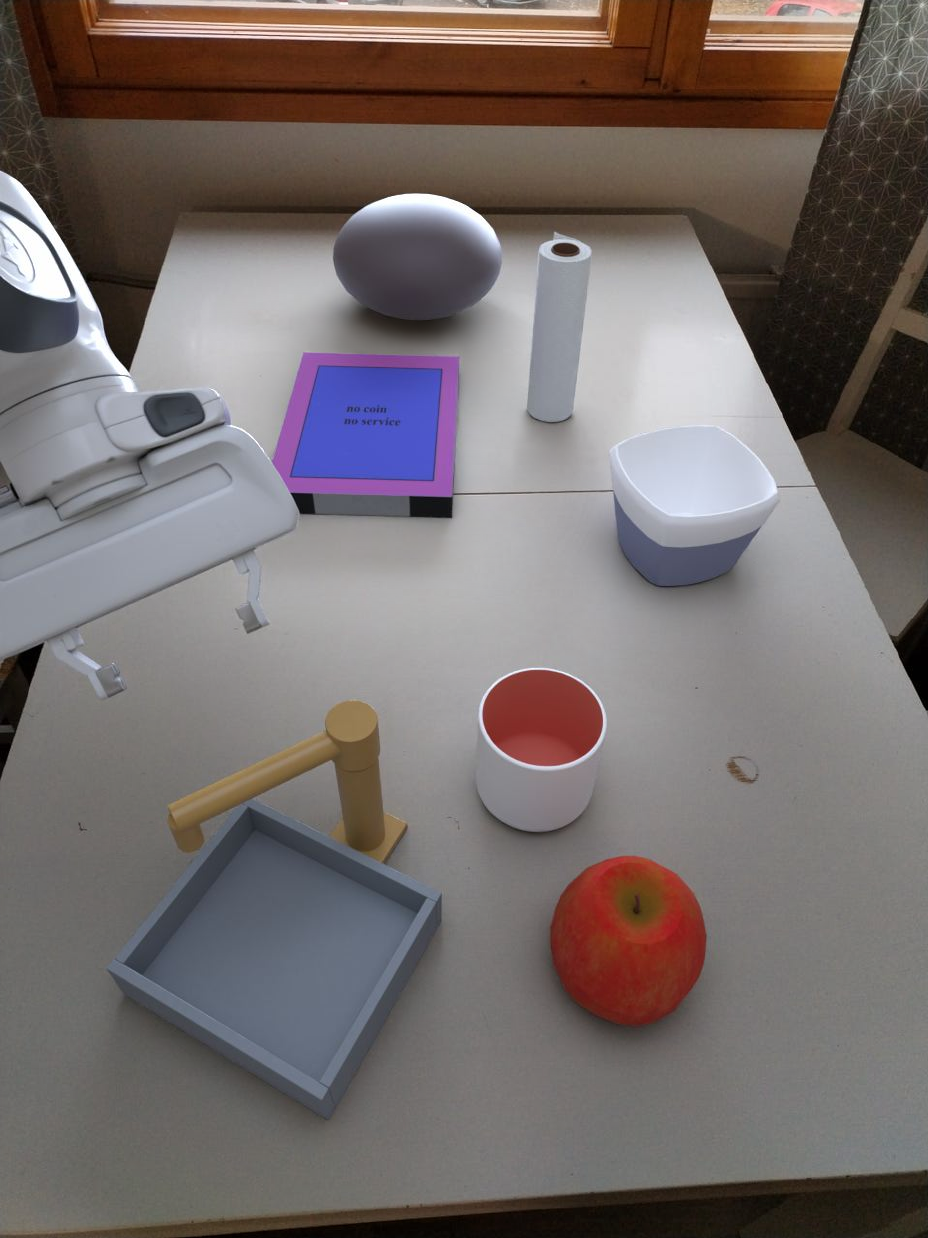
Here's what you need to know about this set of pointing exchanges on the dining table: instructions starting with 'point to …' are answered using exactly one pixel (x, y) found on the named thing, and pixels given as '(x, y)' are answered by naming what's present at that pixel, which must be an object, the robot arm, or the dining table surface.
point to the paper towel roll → (557, 327)
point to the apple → (628, 940)
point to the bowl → (688, 501)
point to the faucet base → (366, 815)
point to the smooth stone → (417, 256)
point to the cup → (538, 748)
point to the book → (371, 435)
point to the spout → (281, 770)
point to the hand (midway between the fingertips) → (187, 661)
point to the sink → (281, 952)
